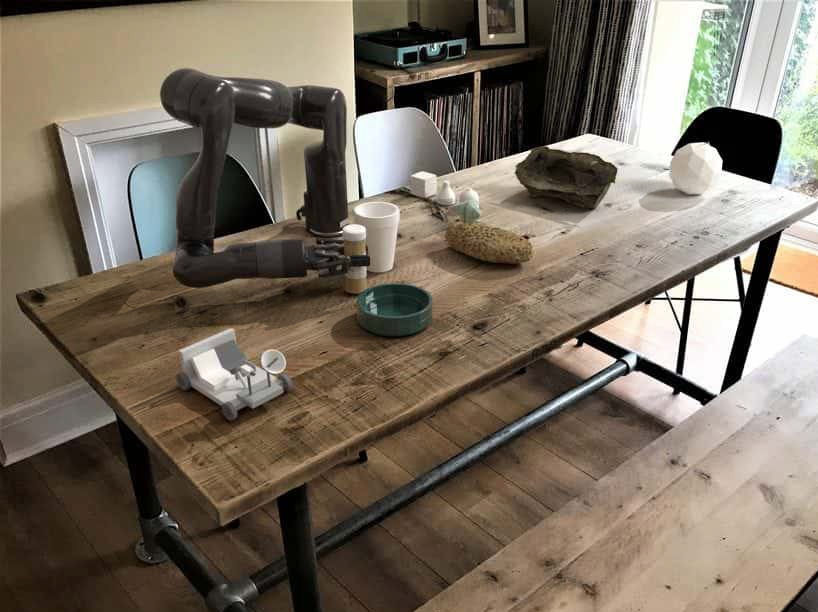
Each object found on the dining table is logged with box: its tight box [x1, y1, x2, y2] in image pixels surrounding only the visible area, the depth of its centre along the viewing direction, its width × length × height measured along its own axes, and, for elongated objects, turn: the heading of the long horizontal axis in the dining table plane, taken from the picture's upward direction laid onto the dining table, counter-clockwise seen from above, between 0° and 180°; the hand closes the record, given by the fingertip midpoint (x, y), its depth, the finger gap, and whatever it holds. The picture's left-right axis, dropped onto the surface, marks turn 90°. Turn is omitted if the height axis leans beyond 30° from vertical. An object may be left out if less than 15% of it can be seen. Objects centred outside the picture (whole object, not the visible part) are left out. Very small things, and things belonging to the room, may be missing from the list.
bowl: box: [356, 282, 434, 337], centre depth 150 cm, size 14×14×4 cm
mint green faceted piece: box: [452, 200, 483, 224], centre depth 191 cm, size 8×4×7 cm, turn 56°
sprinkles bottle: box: [342, 223, 368, 295], centre depth 157 cm, size 5×5×13 cm
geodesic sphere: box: [669, 141, 723, 195], centre depth 215 cm, size 15×14×14 cm
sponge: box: [444, 221, 535, 265], centre depth 176 cm, size 13×8×20 cm
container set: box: [409, 171, 480, 209], centre depth 205 cm, size 20×5×6 cm, turn 54°
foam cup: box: [353, 201, 401, 273], centre depth 168 cm, size 10×9×13 cm
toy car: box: [175, 327, 293, 422], centre depth 126 cm, size 18×10×12 cm
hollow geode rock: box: [514, 145, 619, 210], centre depth 207 cm, size 28×13×15 cm
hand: (368, 255), depth 157 cm, fingers closed on sprinkles bottle, 4 cm apart
